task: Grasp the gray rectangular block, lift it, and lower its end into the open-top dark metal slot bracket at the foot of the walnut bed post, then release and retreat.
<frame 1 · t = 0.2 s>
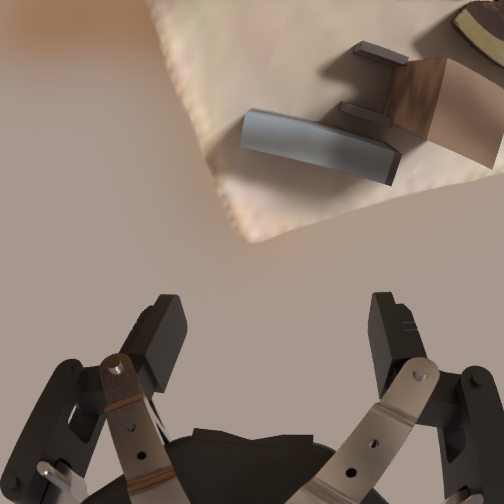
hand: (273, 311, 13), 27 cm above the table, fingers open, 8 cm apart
gray rectangular block: (318, 138, 35), on the table
bed post: (415, 100, 31), on the table
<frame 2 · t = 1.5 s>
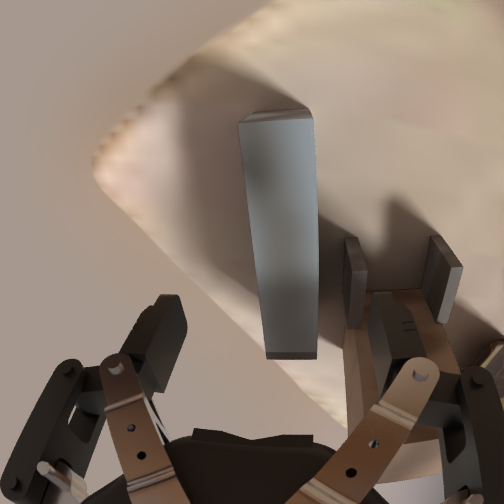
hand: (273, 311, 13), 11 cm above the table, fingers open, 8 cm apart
gray rectangular block: (290, 220, 23), on the table
bed post: (383, 321, 27), on the table
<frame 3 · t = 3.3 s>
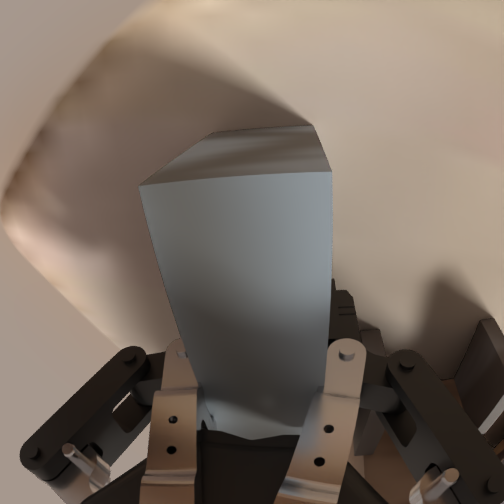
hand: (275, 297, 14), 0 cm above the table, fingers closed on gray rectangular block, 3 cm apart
gray rectangular block: (277, 309, 15), on the table, touching gripper
bed post: (399, 413, 18), on the table
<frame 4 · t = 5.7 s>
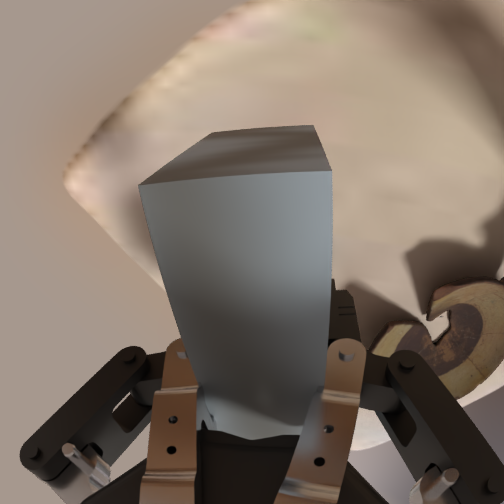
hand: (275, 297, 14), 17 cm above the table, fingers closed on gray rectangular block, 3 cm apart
oil lamp: (455, 324, 35), on the table
gray rectangular block: (277, 308, 15), point 16 cm above the table, touching gripper
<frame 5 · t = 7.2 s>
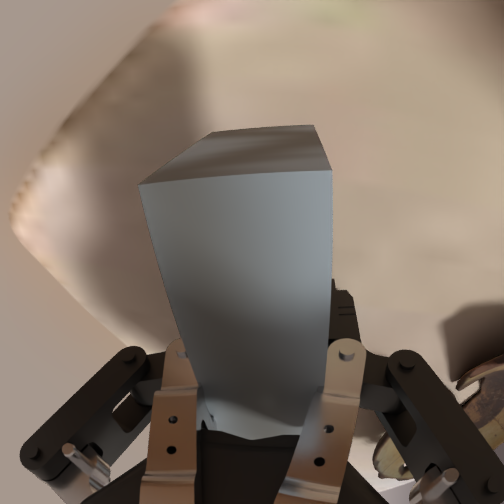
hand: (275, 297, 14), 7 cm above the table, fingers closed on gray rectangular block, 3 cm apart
oil lamp: (485, 386, 26), on the table
gray rectangular block: (277, 308, 15), point 6 cm above the table, touching gripper
when the fingers open (2 cm above the table, at t = 8.5 s): gray rectangular block drops 1 cm, on the table.
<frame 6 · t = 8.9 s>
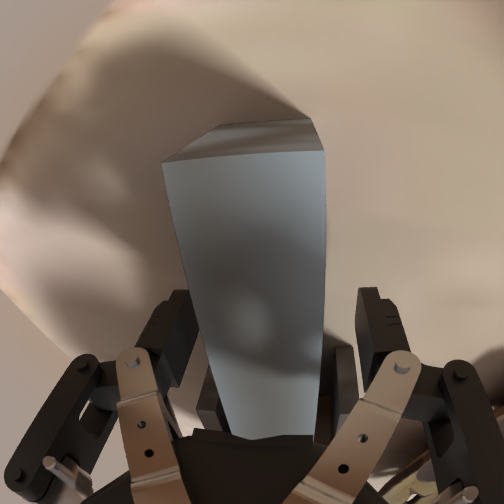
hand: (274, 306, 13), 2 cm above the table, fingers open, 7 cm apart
oil lamp: (498, 421, 22), on the table
gray rectangular block: (278, 290, 16), on the table
bed post: (286, 421, 22), on the table
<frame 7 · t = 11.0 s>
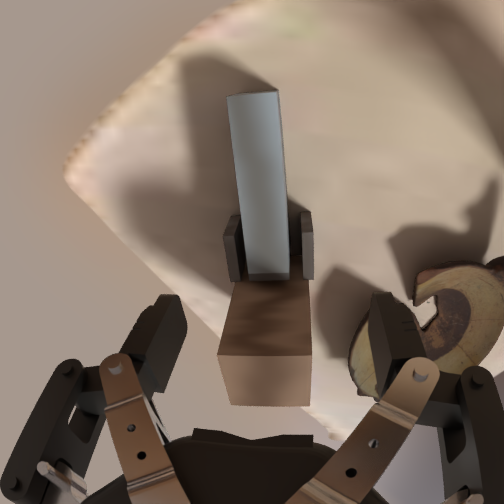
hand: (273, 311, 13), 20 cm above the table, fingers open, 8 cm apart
oil lamp: (443, 310, 36), on the table
gray rectangular block: (266, 174, 30), on the table
bed post: (276, 283, 36), on the table
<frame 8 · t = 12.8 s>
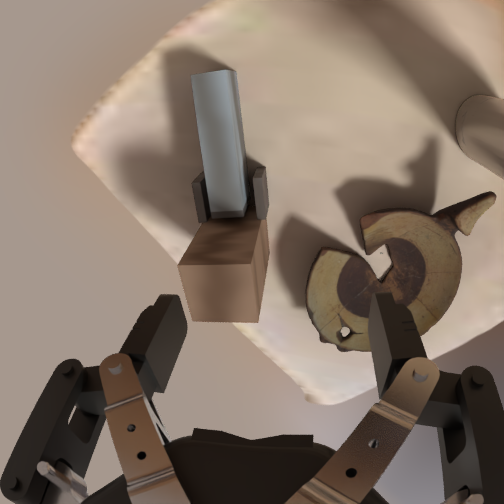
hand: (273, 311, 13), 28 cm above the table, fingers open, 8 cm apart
oil lamp: (398, 263, 43), on the table
gray rectangular block: (228, 137, 37), on the table
bed post: (241, 230, 43), on the table
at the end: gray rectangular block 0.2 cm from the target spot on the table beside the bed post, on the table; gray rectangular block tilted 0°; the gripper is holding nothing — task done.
